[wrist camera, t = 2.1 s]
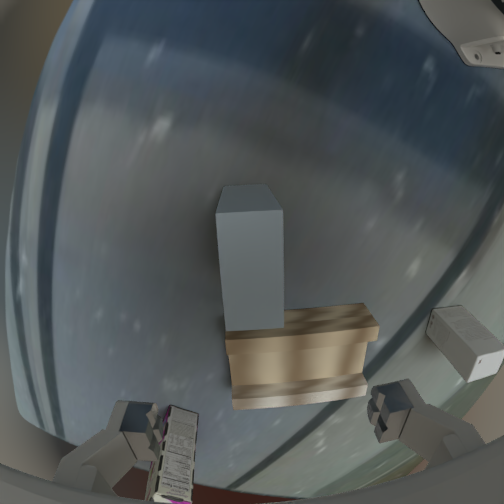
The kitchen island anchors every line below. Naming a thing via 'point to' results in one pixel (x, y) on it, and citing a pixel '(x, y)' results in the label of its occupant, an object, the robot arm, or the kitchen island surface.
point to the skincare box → (465, 342)
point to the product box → (251, 257)
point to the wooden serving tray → (302, 358)
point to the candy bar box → (174, 459)
